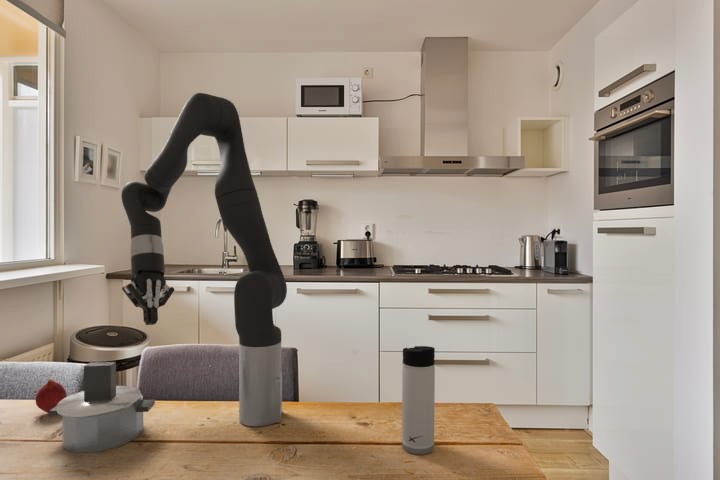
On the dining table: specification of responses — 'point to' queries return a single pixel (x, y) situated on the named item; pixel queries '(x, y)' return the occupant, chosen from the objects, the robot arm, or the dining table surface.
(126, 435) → the pot
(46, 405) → the onion
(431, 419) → the travel mug
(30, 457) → the dining table surface
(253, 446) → the dining table surface
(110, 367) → the lid
